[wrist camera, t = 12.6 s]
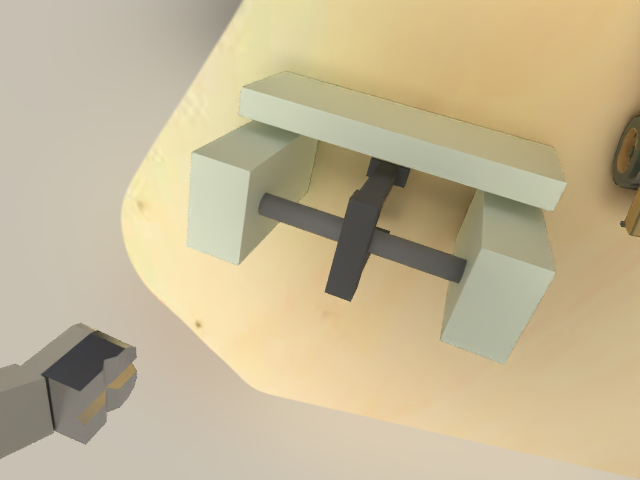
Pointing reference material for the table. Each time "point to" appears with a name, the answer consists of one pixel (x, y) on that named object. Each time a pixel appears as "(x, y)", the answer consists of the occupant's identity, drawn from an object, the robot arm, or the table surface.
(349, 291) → the dark grey flanged post
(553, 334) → the table surface
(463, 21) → the table surface
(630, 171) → the toy car
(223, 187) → the lever switch frame
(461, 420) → the table surface
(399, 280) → the table surface
